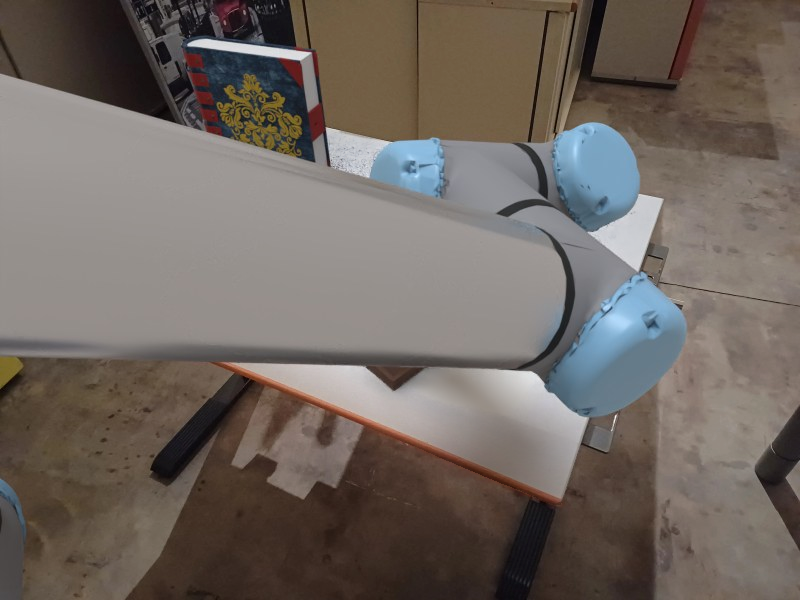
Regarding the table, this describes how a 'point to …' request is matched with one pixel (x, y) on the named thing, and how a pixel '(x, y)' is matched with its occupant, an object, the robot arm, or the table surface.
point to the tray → (394, 374)
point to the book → (260, 95)
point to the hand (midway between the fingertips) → (381, 276)
